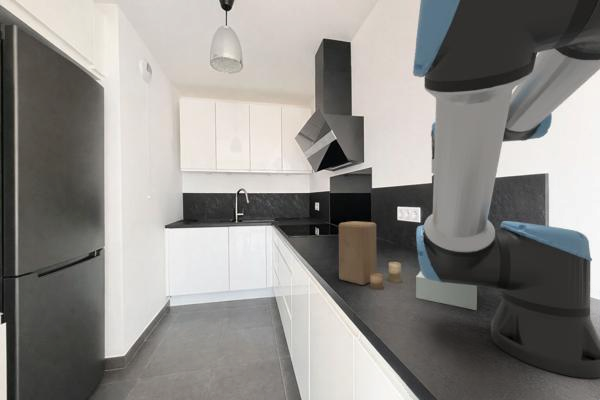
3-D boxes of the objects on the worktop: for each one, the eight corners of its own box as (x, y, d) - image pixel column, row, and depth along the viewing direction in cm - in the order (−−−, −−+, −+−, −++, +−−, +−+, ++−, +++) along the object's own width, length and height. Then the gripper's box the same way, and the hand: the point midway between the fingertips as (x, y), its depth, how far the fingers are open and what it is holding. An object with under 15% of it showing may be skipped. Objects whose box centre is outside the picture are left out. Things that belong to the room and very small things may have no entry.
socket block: (476, 310, 62) (476, 286, 62) (416, 297, 70) (416, 276, 70) (476, 293, 74) (476, 272, 74) (424, 284, 82) (424, 265, 82)
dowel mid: (399, 283, 83) (399, 265, 83) (387, 281, 85) (387, 263, 85) (402, 280, 86) (402, 263, 86) (390, 278, 88) (390, 261, 88)
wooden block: (337, 279, 87) (337, 222, 87) (352, 273, 94) (352, 220, 94) (363, 286, 80) (363, 224, 80) (377, 279, 87) (377, 222, 87)
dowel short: (380, 290, 76) (380, 277, 76) (368, 288, 79) (368, 275, 79) (384, 286, 80) (384, 274, 80) (372, 284, 82) (372, 272, 82)
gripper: (459, 167, 60) (459, 255, 59) (463, 176, 80) (464, 242, 80) (424, 169, 64) (425, 252, 64) (437, 178, 84) (438, 240, 84)
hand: (447, 247), depth 72 cm, fingers open, 13 cm apart
